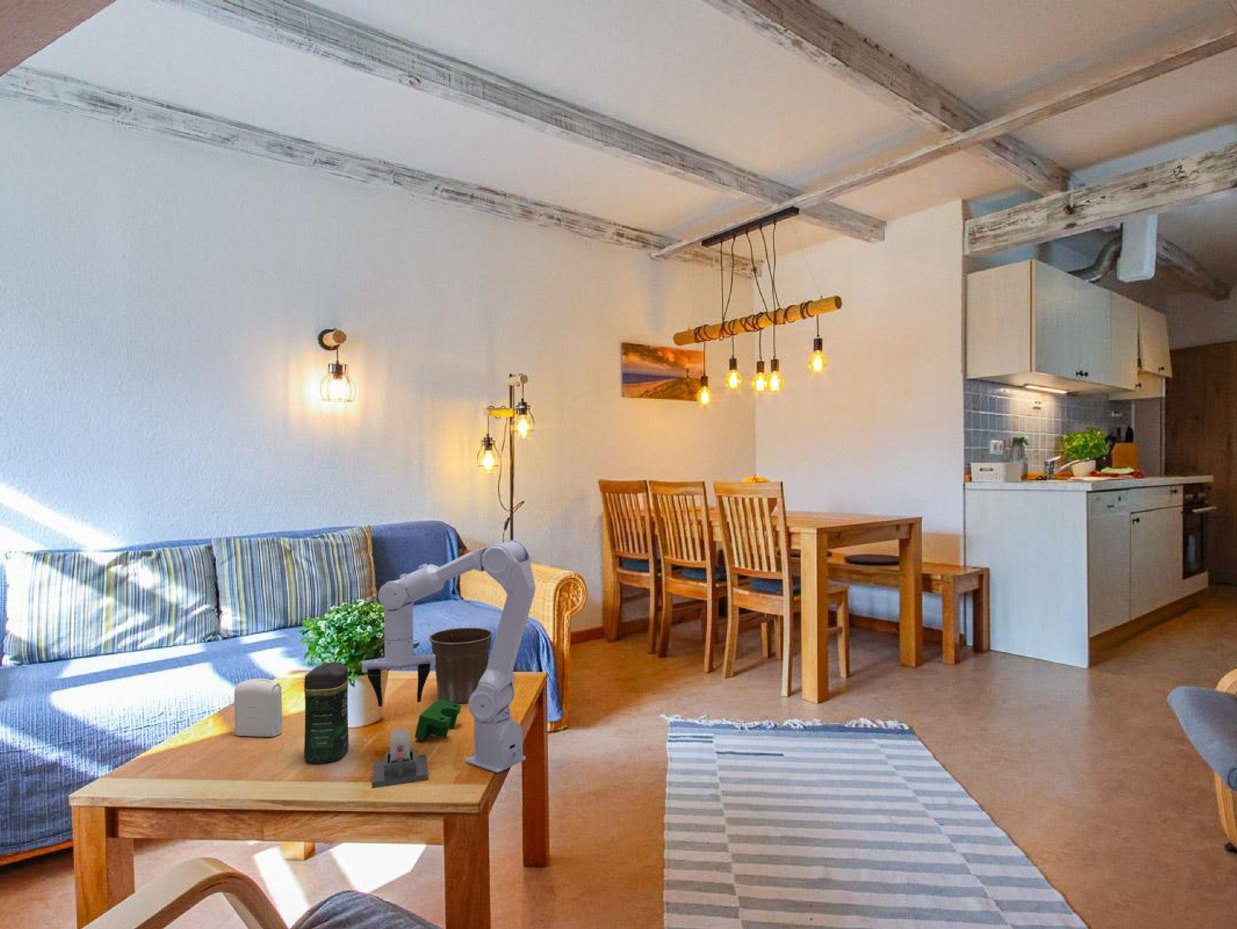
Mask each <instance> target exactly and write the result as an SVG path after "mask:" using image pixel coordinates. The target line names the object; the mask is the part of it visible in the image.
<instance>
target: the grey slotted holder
mask: <svg viewBox="0 0 1237 929" xmlns="http://www.w3.org/2000/svg"><path fill="white" fill-rule="evenodd" d="M416 751H417V750H416V749H410V759H411V761H404V762H403V752H397V762H396V763H390V757H391V752H386V753H384V759H380V760H374V761H373V769H372V777H371V778H372V780H371V788H372V789H373V788H374V789H375V788H380V787H386V786H394V785H402V784H407V783H409V784H410V783H414V782H422V781H423V782H424V781H428V780H429V772H428V771H429V768H428V760H427V754H425V753H423V754H418V755H417V754H416Z"/></svg>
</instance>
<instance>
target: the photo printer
mask: <svg viewBox="0 0 1237 929" xmlns="http://www.w3.org/2000/svg"><path fill="white" fill-rule="evenodd" d="M233 695H234V696H233V697H234V702H233V703H234V731H235V735H236V736H239V737H241V736H242V737H261V738H262V737H267V738H268V737H270V738H271V737H273V738H274V737H278V736H279V735H281V733H282V731H283V705H282V704H283V702H282V701H283V700H282V698H283V697H282V685H281V684H280V683H279V682H277V681H274V680H272V679H267V678H249V679H246V680H243V681H240V682H238V683H237V684H236V686H235V689H234V694H233Z"/></svg>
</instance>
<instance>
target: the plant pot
mask: <svg viewBox="0 0 1237 929" xmlns="http://www.w3.org/2000/svg"><path fill="white" fill-rule="evenodd" d="M493 635H494V632H493V631H491V630H489V629H487V628H482V627H458V628H456V627H455V628H448V629H444V630H439V631H436V632H434V633H432V634H431V635H429V636H428V640H429V642H430V645H431V654H435V666H434V670H435V671H434V672H435V677H436V678H435V679H436V689H437V699H441V700H445V701H448V702H452V703H456V704H459V705H460V704H467V703H468V702H469V698H470V696H471V695H472V693H473V692H474V691H475V690H476V689H477V686H478V683H479V681H480V679H481V677H482V676H483V674H484V672H485V671H486V669H487V665H488V662H489V652H490V650H491V644H492V637H493Z"/></svg>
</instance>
